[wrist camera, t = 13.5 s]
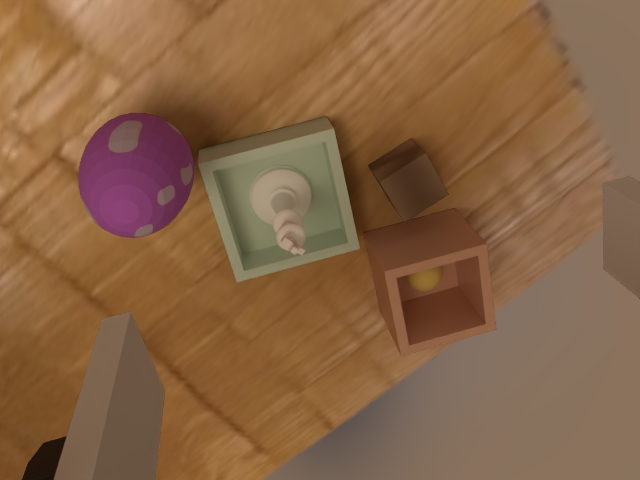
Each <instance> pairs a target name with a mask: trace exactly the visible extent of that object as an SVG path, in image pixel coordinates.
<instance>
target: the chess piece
mask: <svg viewBox="0 0 640 480" xmlns="http://www.w3.org/2000/svg"><path fill="white" fill-rule="evenodd" d="M249 199H250V204H251V206H252V209H253V210H254V212H255V214H256V215H257V216H258V217H259V218H260V219H261V220H262V221H264V222H266V223H268V224H271V225H273V229H274V231H275V232H276V233H277V234H276V241H277V243H278V245H279V246H280V247H281V248H282V249H284V250H287V251H290V252H291V253H293V254H294V255H296V253H298V254H300V255H303V253H304V252H305V251H306V250H305V248H304V247H303V246H302V245H303V244H304V242H305V240H306V234H305V231H304V229H303V228H302V223H303V222H302V217H303V216H304V215H305V214H306V213H307V211H308V209H309V207H310V204H311V199H312V191H311V186H310V183H309V181H308V179H307V178H306V177H305V175H304V174H303V173H301V172H300V171H299V170H297V169H295V168H293V167H290V166H283V165H279V166H273V167H270V168H267V169H265V170H264V171H262V172H261V173H260V174H259V175H258V176H257V177H256V178H255V179H254V181H253V182H252V185H251V187H250V192H249Z"/></svg>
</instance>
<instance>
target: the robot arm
mask: <svg viewBox="0 0 640 480" xmlns="http://www.w3.org/2000/svg"><path fill="white" fill-rule="evenodd" d="M603 261H604V262H603V265H604V266H603V267H604V270H605V271H607V272H608V273H609V274H610V275H612V276H613V277H614V278H615V279H616V280H618V281H619V282H620V283H621V284H622V285H624V286H625V287H626V288H627V289H628V290H630V291H631V292H632V293H633V294H635V295H636V296H637V297H638V298H639V299H640V181H638V180H636V179H634V178H632V177H630V176H627V177H624V178H620V179H616V180H612V181H609V182H605V183H603ZM164 397H165V390H164V387H163V385H162V383H161V380H160V378H159V376H158V373H157V371H156V369H155V366H154V364H153V362H152V359H151V357H150V355H149V353H148V350H147V348H146V346H145V343H144V341H143V339H142V336H141V334H140V332H139V329H138V327H137V325H136V323H135V320H134V318H133V316H132V313H131V312H127V313H123V314H120V315H116V316H112V317H108V318H105V319H102V321H101V325H100V328H99V331H98V335H97V338H96V341H95V344H94V348H93V351H92V354H91V358H90V361H89V364H88V368H87V371H86V374H85V378H84V381H83V384H82V388H81V391H80V394H79V397H78V401H77V404H76V407H75V411H74V414H73V417H72V421H71V424H70V427H69V431H68V434H67V436H66V437H63V438H59V439H55V440H52V441H48V442H45V443H43V444H42V446H41V447H40V448H39V450H38V451H37V452H36V453H35V455H34V456H33V457H32V459H31V460H30V461H29V462H28V465H27V467H26V470H25V473H24V476H23V478H22V480H155V478H156V469H157V460H158V451H159V442H160V433H161V424H162V415H163V406H164Z"/></svg>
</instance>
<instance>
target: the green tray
mask: <svg viewBox="0 0 640 480" xmlns="http://www.w3.org/2000/svg"><path fill="white" fill-rule="evenodd" d="M279 165H283V166H290V167H293V168H295V169H297V170H299V171H300V172H301V173H303V174H304V175H305V177H306V178H307V179H308V181H309V183H310V186H311V191H312V199H311V204H310V207H309V209H308V211H307V213H306V214H305V215H304V216H303V217H302V222H303V223H302V228H303V229H304V231H305V234H306V240H305V242H304V244H303V245H302V246H303V247H304V248H305V250H306V251H305V252H304V253H303V255H300V254H298V253H296V255H294V254H293V253H291V252H290V251H287V250H284V249H282V248H281V247H280V246H279V245H278V243H277V241H276V234H277V233H276V232H275V231H274V229H273V225H271V224H268V223H266V222H264V221H262V220H261V219H260V218H259V217H258V216H257V215H256V214H255V212H254V210H253V209H252V206H251V204H250V199H249V192H250V187H251V185H252V182H253V181H254V179H255V178H256V177H257V176H258V175H259V174H260V173H261V172H262V171H264V170H265V169H267V168H270V167H273V166H279ZM198 166H199V169H200V173H201V176H202V179H203V182H204V185H205V188H206V191H207V194H208V197H209V200H210V203H211V206H212V209H213V212H214V215H215V218H216V221H217V224H218V227H219V230H220V233H221V236H222V239H223V242H224V245H225V248H226V251H227V254H228V257H229V260H230V263H231V266H232V270H233V273H234V276H235V279H236V282H240V281H244V280H248V279H251V278H255V277H259V276H262V275H266V274H270V273H273V272H277V271H281V270H284V269H288V268H292V267H295V266H299V265H303V264H306V263H310V262H314V261H317V260H321V259H325V258H328V257H332V256H336V255H339V254H343V253H347V252H350V251H354V250H358V249H360V247H359V242H358V237H357V233H356V228H355V224H354V219H353V214H352V210H351V205H350V200H349V196H348V191H347V186H346V182H345V177H344V173H343V168H342V163H341V159H340V154H339V149H338V145H337V140H336V135H335V131H334V128H333V126H332V125H331V123H330V122H329V120H328V119H327V117H322V118H318V119H314V120H310V121H307V122H303V123H299V124H295V125H291V126H288V127H284V128H280V129H276V130H272V131H268V132H265V133H261V134H257V135H253V136H249V137H246V138H242V139H238V140H234V141H230V142H226V143H223V144H219V145H215V146H211V147H207V148H204V149H200V150H199V154H198Z"/></svg>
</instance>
